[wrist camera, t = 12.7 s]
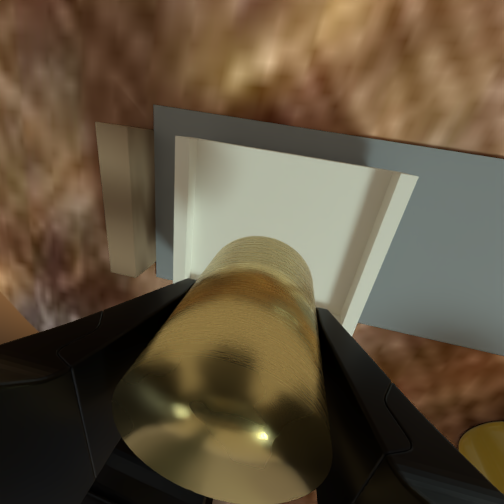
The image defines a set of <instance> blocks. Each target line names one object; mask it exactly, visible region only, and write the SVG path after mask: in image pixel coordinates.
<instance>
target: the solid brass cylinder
mask: <svg viewBox="0 0 504 504" xmlns="http://www.w3.org/2000/svg"><path fill="white" fill-rule="evenodd" d="M112 414H113V419H114V422H115V425H116V427H117V430H118V432H119V433H120V435H121V437H122V439H123V440H124V441H125V443H126V444H127V445H128V447H129V448H130V449H131V450H132V451H133V452H134V454H135V455H136V456H137V457H138V458H140V459H141V460H142V461H143V462H144V463H145V464H146V465H148V466H149V467H150V468H151V469H153V470H154V471H155V472H157V473H158V474H160V475H161V476H163V477H165V478H166V479H168V480H170V481H171V482H173V483H175V484H177V485H179V486H181V487H183V488H185V489H188V490H190V491H193V492H195V493H198V494H201V495H203V496H206V497H210V498H213V499H217V500H221V501H226V502H231V503H238V504H279V503H284V502H289V501H292V500H296V499H299V498H301V497H303V496H305V495H307V494H309V493H311V492H312V491H313V490H315V489H316V488H317V487H318V486H319V485H320V484H322V483H323V481H324V480H325V478H326V477H327V475H328V473H329V471H330V468H331V465H332V457H333V456H332V445H331V436H330V427H329V419H328V410H327V401H326V393H325V384H324V375H323V367H322V358H321V349H320V341H319V332H318V323H317V314H316V306H315V297H314V288H313V280H312V275H311V272H310V269H309V267H308V265H307V263H306V262H305V260H304V259H303V258H302V256H301V255H300V254H299V253H298V252H297V251H296V250H294V249H293V248H292V247H290V246H289V245H287V244H285V243H284V242H282V241H279V240H277V239H273V238H270V237H264V236H249V237H243V238H239V239H237V240H234V241H232V242H230V243H229V244H227V245H226V246H224V247H223V248H222V249H221V250H220V251H219V252H218V253H217V254H216V256H215V257H214V258H213V260H212V261H211V262H210V264H209V265H208V266H207V267H206V269H205V270H204V271H203V273H202V274H201V275H200V277H199V278H198V279H197V281H196V282H195V283H194V285H193V286H192V287H191V288H190V290H189V291H188V292H187V294H186V295H185V296H184V298H183V299H182V300H181V302H180V303H179V304H178V306H177V307H176V308H175V309H174V311H173V312H172V313H171V315H170V316H169V317H168V319H167V320H166V321H165V323H164V324H163V325H162V327H161V328H160V329H159V330H158V332H157V333H156V334H155V336H154V337H153V338H152V340H151V341H150V342H149V344H148V345H147V346H146V348H145V349H144V350H143V351H142V353H141V354H140V355H139V357H138V358H137V359H136V361H135V362H134V363H133V365H132V366H131V367H130V368H129V370H128V371H127V372H126V374H125V375H124V376H123V378H122V379H121V380H120V382H119V383H118V385H117V386H116V389H115V391H114V394H113V398H112Z"/></svg>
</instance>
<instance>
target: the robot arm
mask: <svg viewBox="0 0 504 504" xmlns="http://www.w3.org/2000/svg"><path fill="white" fill-rule="evenodd" d="M196 281H197V280H195V279H191V278H187V279H184V280H181V281H179V282H176V283H173V284H171V285H168V286H166V287H163V288H160V289H158V290H155V291H153V292H150V293H147V294H145V295H142V296H139V297H137V298H134V299H132V300H129V301H126V302H124V303H121V304H118V305H116V306H113V307H111V308H108V309H105V310H104V311H100V312H97V313H95V314H92V315H90V316H87V317H84V318H81V319H78V320H76V321H73V322H70V323H67V324H64V325H61V326H58V327H55V328H52V329H49V330H45V331H42V332H39V333H36V334H33V335H30V336H26V337H23V338H20V339H17V340H14V341H10V342H7V343H4V344H1V345H0V504H212V501H213V498H210V497H206V496H203V495H201V494H198V493H195V492H193V491H190V490H188V489H185V488H183V487H181V486H179V485H177V484H175V483H173V482H171V481H170V480H168V479H166V478H165V477H163V476H161V475H160V474H158V473H157V472H155V471H154V470H153V469H151V468H150V467H149V466H148V465H146V464H145V463H144V462H143V461H142V460H141V459H140V458H138V457H137V456H136V455H135V454H134V452H133V451H132V450H131V449H130V448H129V447H128V445H127V444H126V443H125V441H124V440H123V439H122V437H121V435H120V433H119V432H118V430H117V427H116V425H115V422H114V419H113V414H112V398H113V394H114V391H115V389H116V386H117V385H118V383H119V382H120V380H121V379H122V378H123V376H124V375H125V374H126V372H127V371H128V370H129V368H130V367H131V366H132V365H133V363H134V362H135V361H136V359H137V358H138V357H139V355H140V354H141V353H142V351H143V350H144V349H145V348H146V346H147V345H148V344H149V342H150V341H151V340H152V338H153V337H154V336H155V334H156V333H157V332H158V330H159V329H160V328H161V327H162V325H163V324H164V323H165V321H166V320H167V319H168V317H169V316H170V315H171V313H172V312H173V311H174V309H175V308H176V307H177V306H178V304H179V303H180V302H181V300H182V299H183V298H184V296H185V295H186V294H187V292H188V291H189V290H190V288H191V287H192V286H193V285H194V283H195V282H196ZM316 314H317V323H318V332H319V341H320V349H321V358H322V367H323V375H324V384H325V393H326V401H327V410H328V419H329V427H330V436H331V445H332V456H333V457H332V465H331V468H330V471H329V473H328V475H327V477H326V478H325V480H324V481H323V483H322V484H320V485H319V486H318V487H317V488H316V490H317V503H318V504H504V494H503V493H501V492H500V491H499V490H498V489H497V488H496V487H495V486H494V485H493V484H492V483H491V482H490V481H489V480H488V479H487V478H486V477H485V476H484V475H483V474H482V473H481V472H480V471H479V470H478V469H477V468H476V467H475V466H474V465H473V464H471V463H470V462H469V461H468V460H467V459H466V458H465V457H464V456H463V455H462V454H461V453H460V452H459V451H458V450H457V449H456V448H455V447H454V446H453V445H452V444H451V443H450V442H449V441H448V440H447V439H446V438H445V437H444V436H443V435H442V434H441V433H440V432H439V431H438V430H437V429H436V428H435V427H434V426H433V425H432V424H431V423H430V422H429V421H428V420H427V419H426V418H425V417H424V416H423V415H422V414H421V413H420V412H419V411H418V410H417V408H416V407H415V406H414V405H413V404H412V403H411V402H410V401H409V400H408V399H407V398H406V397H405V396H404V394H403V393H402V392H401V391H400V390H399V389H398V388H397V387H396V385H395V384H394V383H391V380H390V379H389V378H388V377H387V376H386V374H385V373H384V372H383V371H382V370H381V369H380V368H379V367H378V365H377V364H376V363H375V362H374V361H373V360H372V359H371V358H370V356H369V355H368V354H367V353H366V352H365V351H364V350H363V349H362V347H361V346H360V345H359V344H358V343H357V342H356V341H355V340H354V338H353V337H352V336H351V335H350V334H349V333H348V332H347V331H346V329H345V328H344V327H343V326H342V325H341V324H340V323H339V322H338V320H337V319H336V318H335V317H334V316H333V315H332V314H331V313H330V312H329V310H327V309H324V308H320V307H316Z"/></svg>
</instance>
